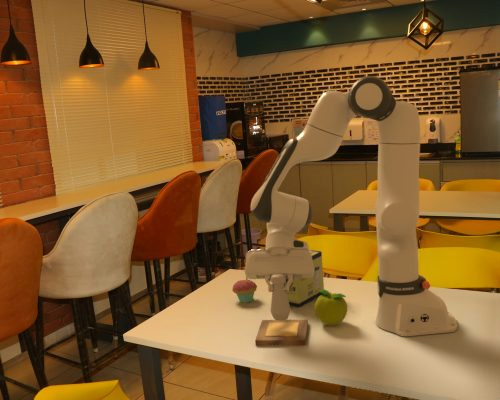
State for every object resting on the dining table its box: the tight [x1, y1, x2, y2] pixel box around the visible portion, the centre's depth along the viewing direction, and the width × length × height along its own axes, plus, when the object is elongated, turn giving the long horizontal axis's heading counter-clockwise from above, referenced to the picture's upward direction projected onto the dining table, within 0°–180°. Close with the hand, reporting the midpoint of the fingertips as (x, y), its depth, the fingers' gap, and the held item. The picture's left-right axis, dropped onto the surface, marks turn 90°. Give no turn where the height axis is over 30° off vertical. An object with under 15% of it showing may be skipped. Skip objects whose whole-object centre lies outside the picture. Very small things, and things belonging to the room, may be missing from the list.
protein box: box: [284, 249, 325, 309], centre depth 176 cm, size 10×16×16 cm
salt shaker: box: [269, 274, 291, 321], centre depth 148 cm, size 6×6×13 cm
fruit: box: [314, 288, 348, 327], centre depth 153 cm, size 9×9×10 cm
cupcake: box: [231, 275, 258, 303], centre depth 179 cm, size 9×8×12 cm
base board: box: [254, 318, 309, 346], centre depth 150 cm, size 14×14×2 cm
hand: (278, 291), depth 147 cm, fingers closed on salt shaker, 3 cm apart
